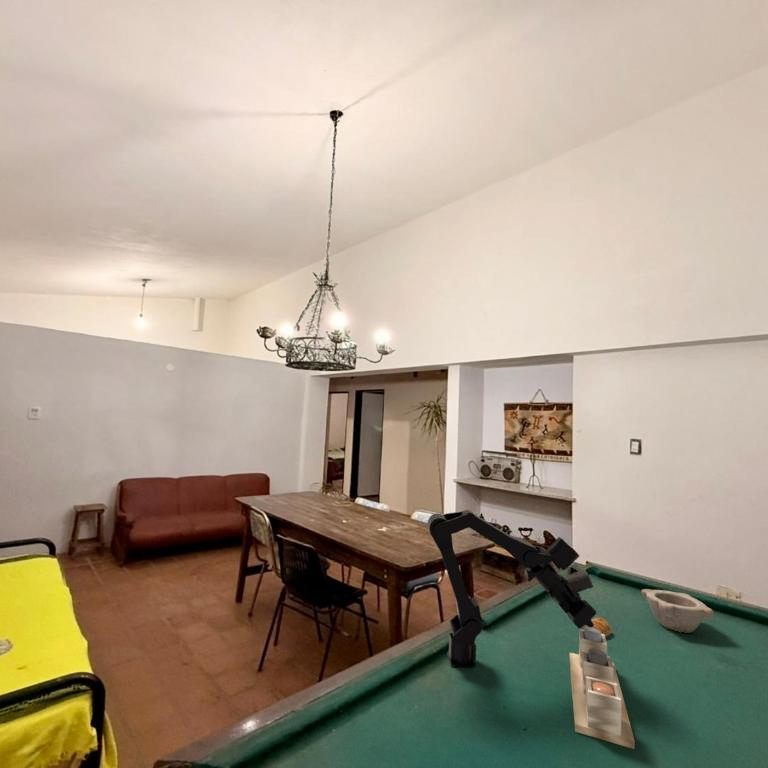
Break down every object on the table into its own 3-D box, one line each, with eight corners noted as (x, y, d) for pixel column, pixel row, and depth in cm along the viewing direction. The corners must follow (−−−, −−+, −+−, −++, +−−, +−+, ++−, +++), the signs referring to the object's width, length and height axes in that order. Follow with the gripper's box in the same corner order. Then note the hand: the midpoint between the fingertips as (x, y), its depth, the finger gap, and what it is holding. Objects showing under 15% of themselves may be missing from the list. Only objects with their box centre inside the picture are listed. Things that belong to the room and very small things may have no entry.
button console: (575, 731, 90) (575, 689, 91) (569, 658, 119) (570, 626, 119) (634, 749, 86) (634, 704, 87) (613, 668, 115) (614, 635, 115)
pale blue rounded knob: (584, 650, 113) (585, 632, 113) (583, 643, 116) (584, 626, 117) (601, 654, 111) (601, 636, 112) (600, 646, 115) (600, 629, 115)
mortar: (688, 618, 149) (688, 591, 150) (719, 642, 132) (718, 611, 133) (637, 612, 151) (637, 585, 152) (660, 635, 135) (660, 605, 136)
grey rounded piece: (588, 674, 102) (588, 655, 102) (587, 665, 105) (587, 647, 106) (607, 679, 100) (607, 659, 100) (605, 670, 104) (605, 651, 104)
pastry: (602, 643, 128) (602, 630, 129) (579, 634, 133) (579, 621, 133) (613, 633, 135) (613, 621, 135) (590, 625, 140) (590, 613, 140)
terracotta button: (593, 712, 90) (593, 690, 91) (591, 701, 94) (591, 680, 94) (614, 718, 89) (614, 696, 89) (611, 707, 93) (612, 685, 93)
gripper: (588, 573, 107) (633, 621, 105) (559, 550, 125) (597, 591, 124) (556, 604, 106) (600, 652, 105) (532, 576, 125) (569, 617, 123)
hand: (592, 625), depth 114 cm, fingers closed
